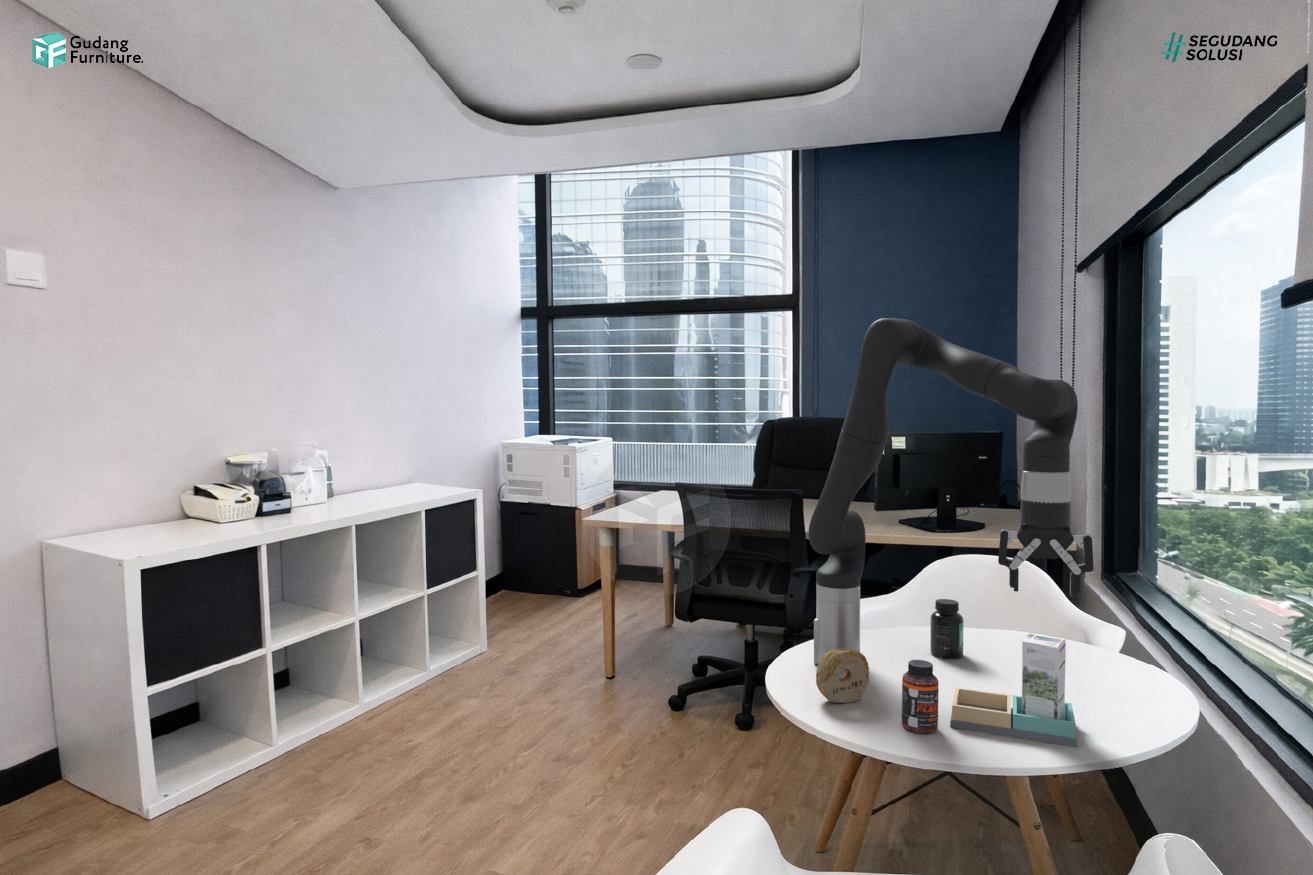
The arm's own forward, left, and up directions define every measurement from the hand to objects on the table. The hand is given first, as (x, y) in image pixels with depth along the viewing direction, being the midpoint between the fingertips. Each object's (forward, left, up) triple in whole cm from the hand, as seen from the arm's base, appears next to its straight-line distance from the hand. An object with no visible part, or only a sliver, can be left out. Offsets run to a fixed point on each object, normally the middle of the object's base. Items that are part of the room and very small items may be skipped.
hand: (1044, 593), depth 128 cm
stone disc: (-34, -1, -24) cm, 41 cm away
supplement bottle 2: (-18, +35, -24) cm, 46 cm away
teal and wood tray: (-5, 0, -24) cm, 24 cm away
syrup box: (0, 0, -23) cm, 23 cm away
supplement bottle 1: (-19, -7, -24) cm, 31 cm away
